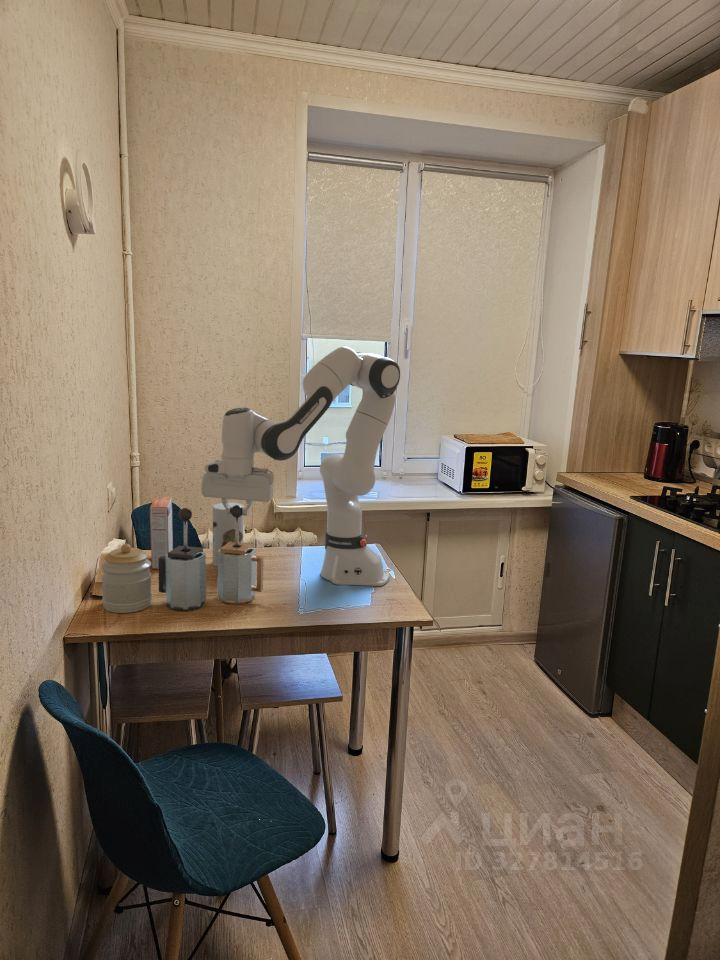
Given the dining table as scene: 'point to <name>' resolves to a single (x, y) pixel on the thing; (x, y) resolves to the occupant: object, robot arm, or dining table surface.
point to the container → (223, 527)
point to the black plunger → (185, 524)
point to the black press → (183, 578)
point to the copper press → (238, 573)
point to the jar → (126, 580)
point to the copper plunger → (236, 522)
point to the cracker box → (161, 528)
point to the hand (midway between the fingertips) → (237, 514)
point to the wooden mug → (230, 538)
